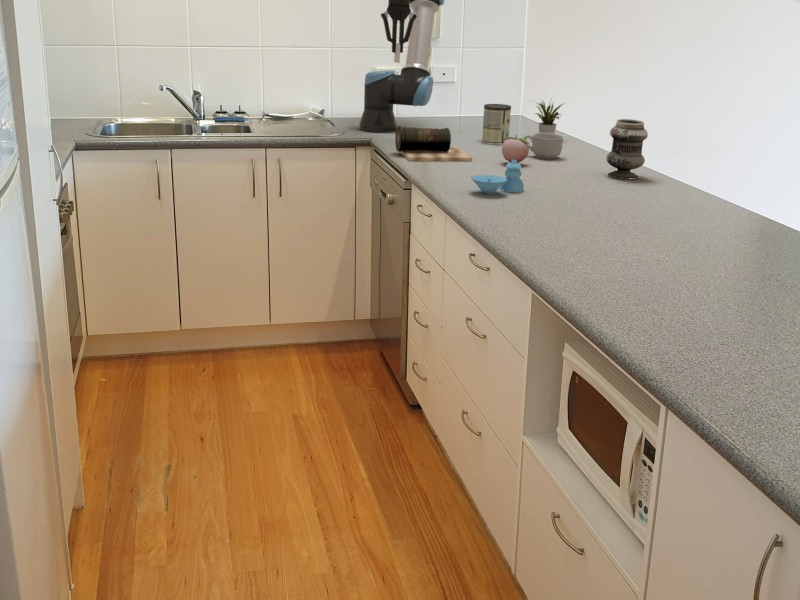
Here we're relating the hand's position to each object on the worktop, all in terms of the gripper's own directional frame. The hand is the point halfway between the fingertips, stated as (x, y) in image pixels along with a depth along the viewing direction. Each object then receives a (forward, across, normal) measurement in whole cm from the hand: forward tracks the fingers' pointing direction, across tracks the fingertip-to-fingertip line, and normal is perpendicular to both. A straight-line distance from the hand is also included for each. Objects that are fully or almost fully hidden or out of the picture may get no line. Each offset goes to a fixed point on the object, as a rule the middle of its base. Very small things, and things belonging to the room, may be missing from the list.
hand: (396, 62), depth 328 cm
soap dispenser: (+30, +16, -80) cm, 87 cm away
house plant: (+30, +62, +12) cm, 70 cm away
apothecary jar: (+30, +65, -59) cm, 93 cm away
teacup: (+30, +49, -26) cm, 63 cm away
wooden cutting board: (+29, +10, -23) cm, 39 cm away
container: (+24, -3, -22) cm, 33 cm away
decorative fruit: (+30, +34, -39) cm, 60 cm away
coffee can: (+30, +40, +4) cm, 50 cm away
